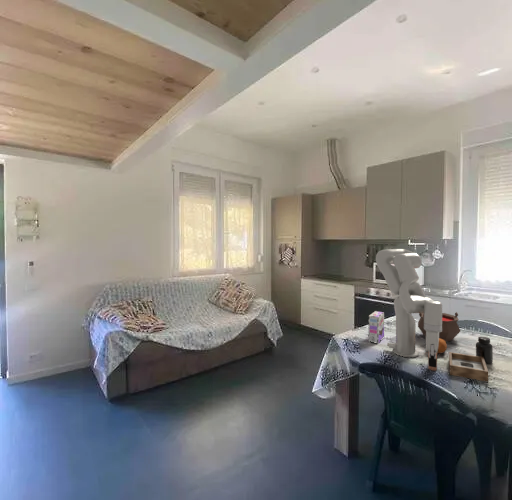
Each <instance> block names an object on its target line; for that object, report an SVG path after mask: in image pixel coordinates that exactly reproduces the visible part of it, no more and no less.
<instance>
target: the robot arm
mask: <svg viewBox="0 0 512 500" xmlns="http://www.w3.org/2000/svg"><path fill="white" fill-rule="evenodd" d="M375 263H376V266H377V268H378V270H379V271H380V273H381V274H382V276H383V277H384V280H385V282H386V284H387V287H388V289H389V290H390V293H391V294H392V295H394V296H397V297H396V298H394V301H393V308H394V312H395V342H394V343H391V342H387V344H386V347H388V348H389V349H391V348H392V352H394V353H393V354H395V353H396V354H397V355H396V354H395V355H396V356H399V355H400V356H399V357H402V356H403V357H404V358H410V357H412V358H417V357H419V354H420V353H419V351H418V350H417V349H416V320H415V318H414V316H413V315H412V314H419V313H424V330H426V337H425V352H426V353H428V352H429V366H431V367H436V353H437V352H438V345H439V332H442V313H443V303H442V302H440V301H439V300H438V301H437V300H433V299H432V298H430V297H427V296H426V294H425V292H424V290H423V288H422V286H421V284H420V283H419V282H418V281H419V279H420V277H419V275H418V273H417V271H416V269H419V268H420V267H421V266H422V263H423V262H422V258H421V256H420V255H419V254H418V253H416V252H414V251H411V250H408V249H406V248H387V249H381V250H379V251H378V252H377V253H376V255H375ZM430 350H431V351H430ZM434 351H435V352H434ZM430 353H431V354H430ZM434 354H435V355H434ZM437 354H438V353H437ZM403 357H402V358H403Z"/></svg>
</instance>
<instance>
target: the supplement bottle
mask: <svg viewBox="0 0 512 500" xmlns="http://www.w3.org/2000/svg"><path fill="white" fill-rule="evenodd" d="M477 339H478V340H477V342H476V343H475V356H479V357H483V358H484V360H485V363H486V365H492V364H493V362H494V358H493V357H494V353H493V352H494V347H493V345H492V344H491V339H490V338H489V337H487V336H478V337H477Z"/></svg>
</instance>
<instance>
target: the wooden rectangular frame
mask: <svg viewBox="0 0 512 500" xmlns="http://www.w3.org/2000/svg"><path fill="white" fill-rule="evenodd" d="M448 362H449V363H448V364H449V365H448V367H449V375H450V376H454V377H460V378H466V379H472V380H475V379H476V381H480V382H481V381H482V382H486V381H488V382H489V370H488V367H487V364H486V363H485V360H484V358H483V357H479V356H476V355H471V354H465V353H464V354H463V353H460V352H459V353H458V352H452V351H449V352H448Z"/></svg>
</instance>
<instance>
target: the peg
mask: <svg viewBox="0 0 512 500" xmlns="http://www.w3.org/2000/svg"><path fill="white" fill-rule="evenodd" d="M430 351H431V350H430ZM434 352H435V351H434ZM427 353H428V355H427V356H428V358H427V360H428V362H427V363H428V364H427V365H428V366H427V369H428V370H430V371H433V372H434V371H435V372H436V371H437V370H438V365H437V364H438V353H436V367H431V366H429V352H428V351H427ZM430 354H431V353H430ZM434 355H435V354H434Z"/></svg>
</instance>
